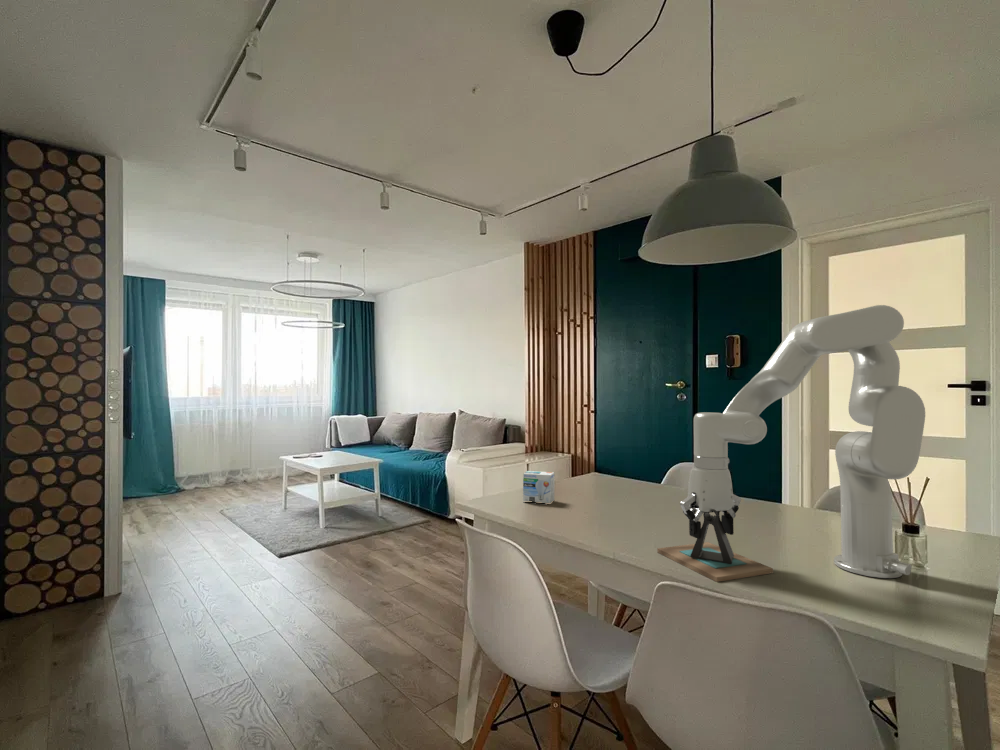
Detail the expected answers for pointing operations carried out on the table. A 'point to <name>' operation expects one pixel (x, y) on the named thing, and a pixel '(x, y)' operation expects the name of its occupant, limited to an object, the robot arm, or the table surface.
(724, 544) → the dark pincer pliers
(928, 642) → the table surface
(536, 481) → the light bulb box
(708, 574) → the wooden board
